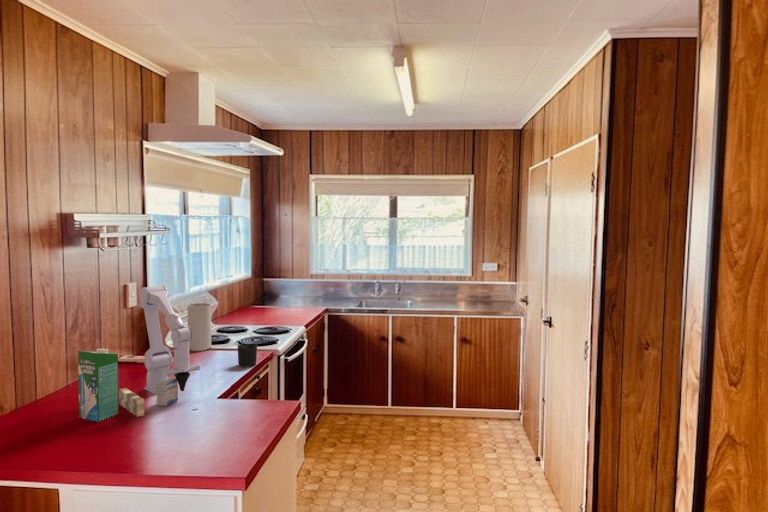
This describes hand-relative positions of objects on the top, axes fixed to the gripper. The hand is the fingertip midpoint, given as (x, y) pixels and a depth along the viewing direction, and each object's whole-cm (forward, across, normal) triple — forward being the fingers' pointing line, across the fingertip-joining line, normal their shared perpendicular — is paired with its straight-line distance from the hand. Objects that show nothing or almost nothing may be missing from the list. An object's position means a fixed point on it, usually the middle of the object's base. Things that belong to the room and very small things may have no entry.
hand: (182, 390), depth 210 cm
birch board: (+3, -19, +1) cm, 20 cm away
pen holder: (+4, +46, +27) cm, 54 cm away
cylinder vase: (+3, +44, +73) cm, 85 cm away
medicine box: (+4, -6, 0) cm, 7 cm away
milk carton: (+4, -30, +2) cm, 31 cm away
